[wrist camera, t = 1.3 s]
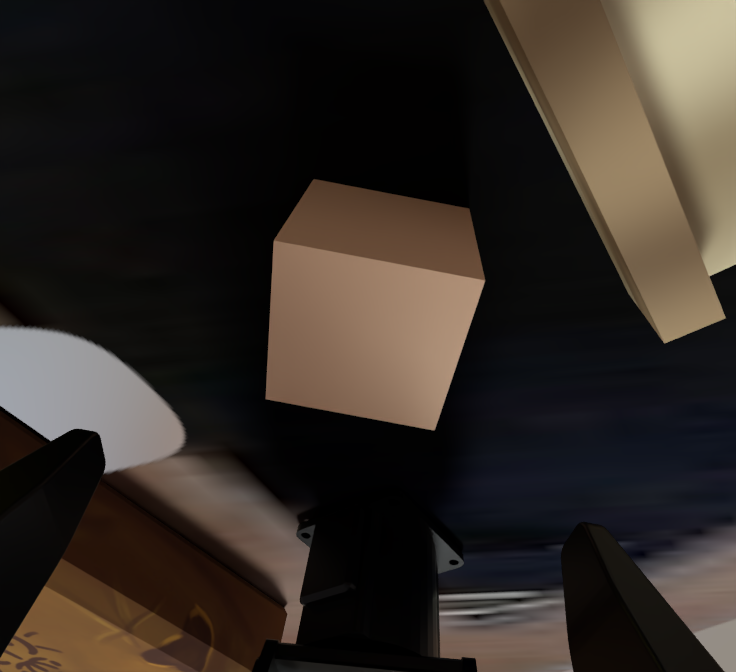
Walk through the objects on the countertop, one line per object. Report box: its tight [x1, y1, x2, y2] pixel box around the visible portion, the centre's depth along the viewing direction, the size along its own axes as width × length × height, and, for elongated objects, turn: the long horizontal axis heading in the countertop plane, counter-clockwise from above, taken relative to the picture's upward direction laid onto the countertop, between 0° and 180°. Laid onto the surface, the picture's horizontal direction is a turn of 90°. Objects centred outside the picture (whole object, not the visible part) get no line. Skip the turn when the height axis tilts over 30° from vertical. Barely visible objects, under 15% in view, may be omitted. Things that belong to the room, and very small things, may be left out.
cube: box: [266, 179, 485, 431], centre depth 15 cm, size 5×5×5 cm
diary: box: [0, 406, 287, 672], centre depth 28 cm, size 23×19×6 cm
